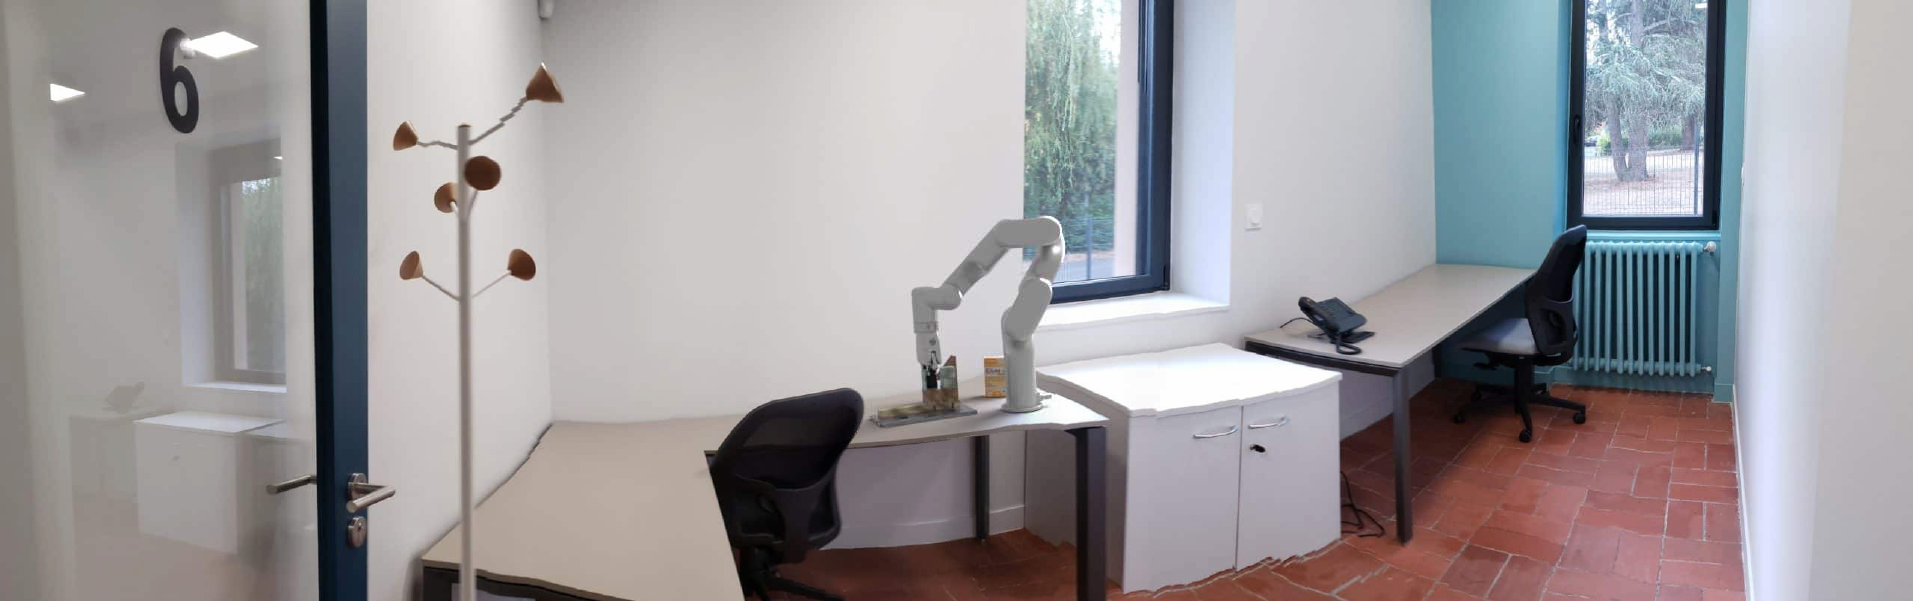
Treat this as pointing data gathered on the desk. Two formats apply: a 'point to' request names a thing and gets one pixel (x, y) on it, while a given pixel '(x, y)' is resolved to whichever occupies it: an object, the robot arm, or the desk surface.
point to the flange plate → (924, 416)
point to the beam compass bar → (947, 401)
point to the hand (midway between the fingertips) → (929, 386)
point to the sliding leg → (929, 392)
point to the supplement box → (994, 376)
